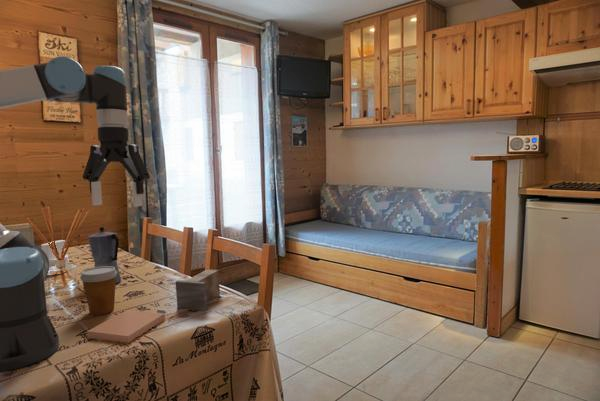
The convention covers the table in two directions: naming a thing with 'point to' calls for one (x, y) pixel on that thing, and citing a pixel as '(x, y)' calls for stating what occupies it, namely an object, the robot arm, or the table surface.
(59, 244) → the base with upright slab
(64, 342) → the table surface
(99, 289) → the disposable coffee cup
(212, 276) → the tan flared wedge
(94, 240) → the moka pot
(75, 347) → the table surface
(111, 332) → the tile
